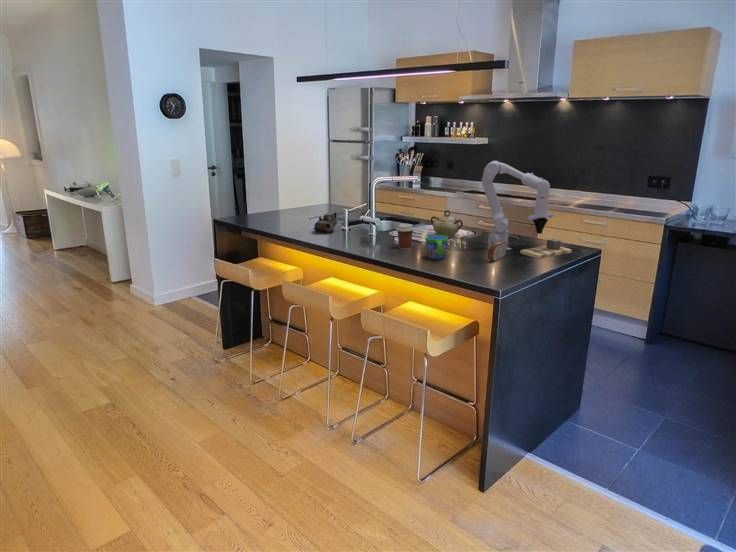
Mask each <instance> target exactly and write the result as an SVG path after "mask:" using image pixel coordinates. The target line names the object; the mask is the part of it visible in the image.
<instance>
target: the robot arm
mask: <svg viewBox="0 0 736 552" xmlns="http://www.w3.org/2000/svg"><path fill="white" fill-rule="evenodd" d="M498 174H499V175H501V174H502V175H503V174H507V175H509V176H511V177H514V178H516V179H519V180H521V183H522V184H523V185H524V186H526V187H529V188H531V189H533V190H536V197H535V205H534V207H535V209H534V214H531V215H528V216H527V220H528V221H532V222H533V224H534V226H535V230H536V231H535V232H536V234H538V235H540V234H541V235H542V234H543V230H544V228H545V226H546V225H547V223H548V221H549V218H551V219H552V218H554V213H552V212H549V213H548V209H549V199H550V196H549V195H550V192H549V191H550V189H551V184H550V183H549V181H548V180H546V179H544V178H543V177H538V176H537V175H534V172H530V173H529V172H526V173H524V172H522V171H520V170H519V169H516V168H515V167H512V166H510V165H509V164H507V163H503V162H500V161H499V160H492V161H490V162H489V163H487V164H486V165H485V167H484V169H483V173H482V178H481V184H482V187H483V190H484V193H485V196H486V198H487V202H488V204H489V207H490V211H491V214H492V217H493V222H494V225H493V227H494V230H493V232H491V233H490V234H489V235H488V240H487V247H486V249H487V250H489V248H490V246H491V245H492V244H493V243H495V242H498V241H504V242H506V244H507V247H506V251H510V250H512V248H511V247H509V234H510V233H509V232H510V231H509V229H508V228H509V226H510V221H509V219H508V218H507V217H506V216H505V214H504V212H503V209H502V206H501V204H500V201H499V197H498V195H497V192H496V188H495V187H494V182H493V181H494V179H495V178H496V175H498Z"/></svg>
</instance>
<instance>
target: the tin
mask: <svg viewBox="0 0 736 552" xmlns="http://www.w3.org/2000/svg"><path fill="white" fill-rule="evenodd" d="M506 247H507V244H506V242H504V241H498V242H495V243H493V244H492V245H491V246H490V248H489V249H488V253H487V259H488V261H490V262H491V261H492V262H497V261H499V260H501V259H503V258H504V257H505V256H506V253H507V250H506Z"/></svg>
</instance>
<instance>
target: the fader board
mask: <svg viewBox="0 0 736 552" xmlns="http://www.w3.org/2000/svg"><path fill="white" fill-rule="evenodd" d="M546 247H547V245H543V246H542V245H541V246H537V247H531V248H530V247H529V248H523V249H521V250H520V251H519V253H520V254H522V255H524V256H527V257H532V258H534V259H538V260H539V259H544V258H550V257H556V256H560V255H561V256H562V255H565V254H571V253H572V252H573V251H572V250H573V249H571V248H567V247H564V246H560V249H556V250H553V249H549V248H546Z"/></svg>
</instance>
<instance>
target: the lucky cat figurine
mask: <svg viewBox="0 0 736 552" xmlns="http://www.w3.org/2000/svg"><path fill="white" fill-rule="evenodd" d="M337 224H338V214H337V212H336V211H335V212H326V214H324V215H323V216H322V217H321V216H319V217H318V221H316V222H315V224H314V227H313V230H315V231H316V232H319V231H321V232H325V233H326V232H327V233H331V234H333V233H334V232H335V227H336V225H337Z"/></svg>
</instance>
